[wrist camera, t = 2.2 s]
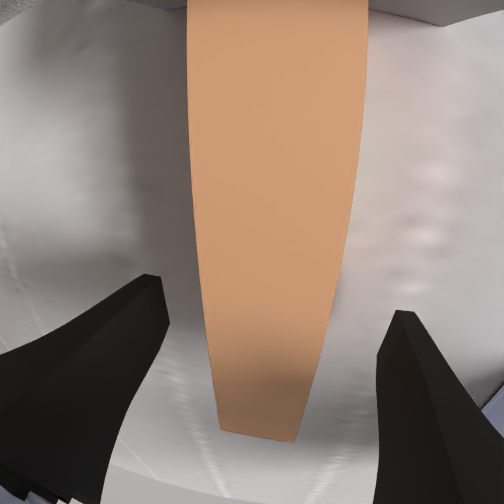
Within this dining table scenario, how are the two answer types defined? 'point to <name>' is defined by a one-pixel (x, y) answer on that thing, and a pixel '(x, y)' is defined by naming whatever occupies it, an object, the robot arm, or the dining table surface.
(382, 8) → the grey plain boxy block
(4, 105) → the dining table surface
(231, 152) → the orange rectangular bar
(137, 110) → the dining table surface
